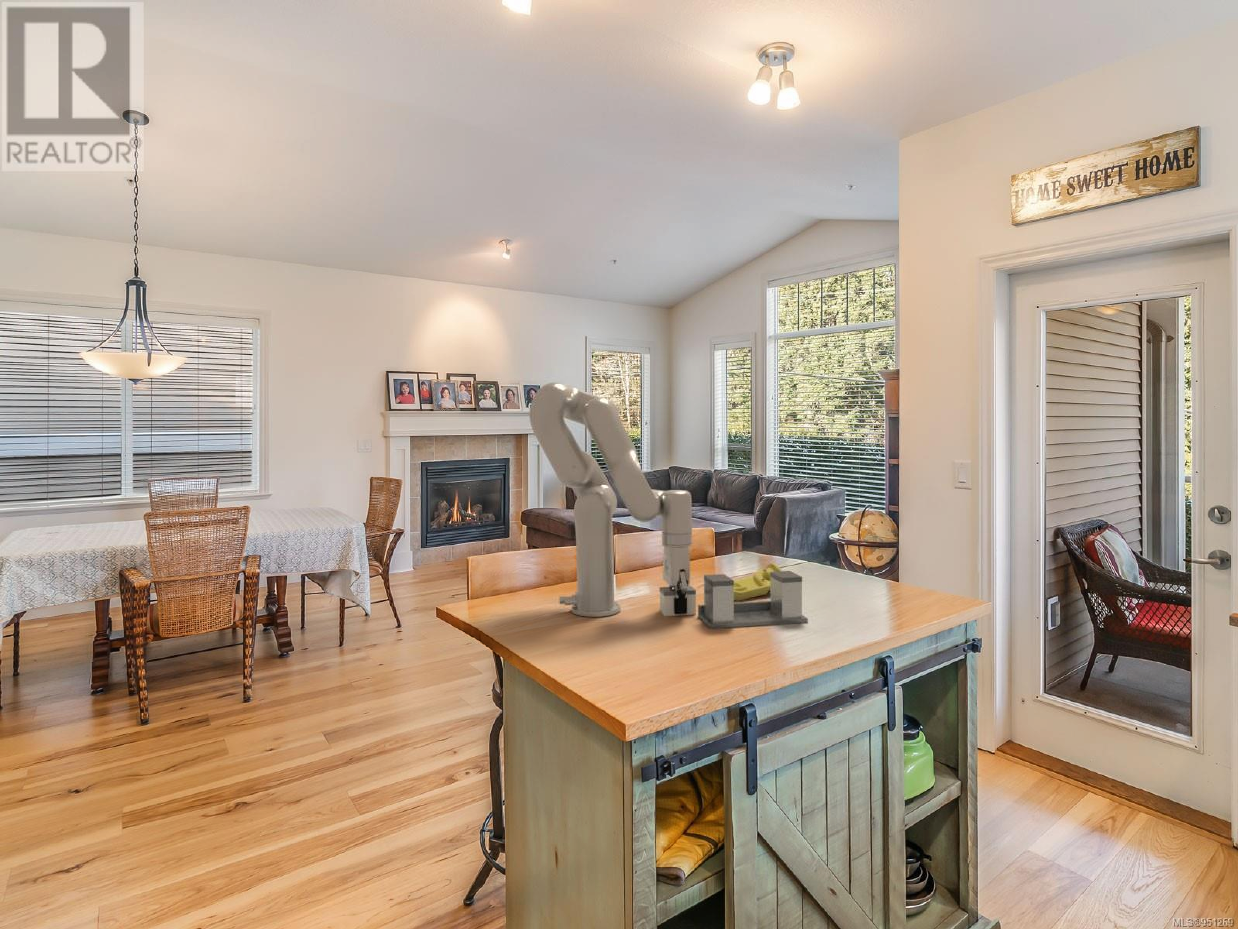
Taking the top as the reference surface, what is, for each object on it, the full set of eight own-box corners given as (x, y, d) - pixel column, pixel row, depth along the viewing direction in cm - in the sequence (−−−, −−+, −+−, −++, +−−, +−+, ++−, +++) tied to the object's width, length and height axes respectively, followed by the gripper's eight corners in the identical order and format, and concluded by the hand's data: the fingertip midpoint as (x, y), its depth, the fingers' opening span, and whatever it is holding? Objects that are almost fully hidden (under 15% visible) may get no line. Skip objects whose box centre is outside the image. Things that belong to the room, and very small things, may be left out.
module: (664, 616, 164) (664, 592, 164) (659, 610, 169) (659, 587, 169) (696, 614, 165) (695, 590, 165) (690, 609, 170) (690, 585, 170)
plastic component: (735, 594, 176) (714, 572, 184) (729, 615, 179) (709, 593, 187) (792, 580, 185) (770, 559, 193) (786, 600, 188) (764, 579, 196)
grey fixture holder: (710, 628, 153) (710, 582, 152) (698, 617, 163) (697, 573, 162) (807, 622, 157) (807, 577, 156) (789, 611, 167) (789, 569, 166)
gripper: (654, 534, 174) (655, 603, 175) (670, 545, 157) (671, 621, 158) (682, 533, 175) (683, 601, 176) (701, 544, 158) (701, 619, 159)
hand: (677, 609), depth 167 cm, fingers closed on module, 5 cm apart
